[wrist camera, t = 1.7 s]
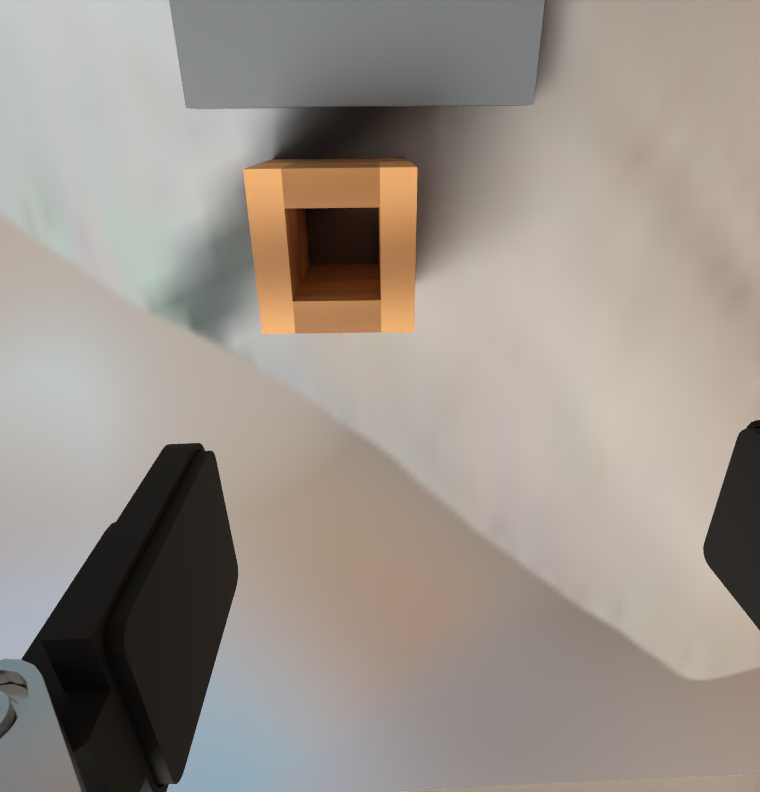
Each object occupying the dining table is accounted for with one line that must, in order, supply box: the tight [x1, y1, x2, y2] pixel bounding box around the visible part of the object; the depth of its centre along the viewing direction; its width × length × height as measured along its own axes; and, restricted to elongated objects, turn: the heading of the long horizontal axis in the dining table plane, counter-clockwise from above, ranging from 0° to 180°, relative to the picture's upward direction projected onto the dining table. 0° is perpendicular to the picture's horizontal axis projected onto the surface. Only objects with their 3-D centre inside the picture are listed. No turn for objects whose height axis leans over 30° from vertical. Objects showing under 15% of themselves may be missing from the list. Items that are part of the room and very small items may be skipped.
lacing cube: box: [243, 158, 417, 334], centre depth 22 cm, size 6×6×6 cm
